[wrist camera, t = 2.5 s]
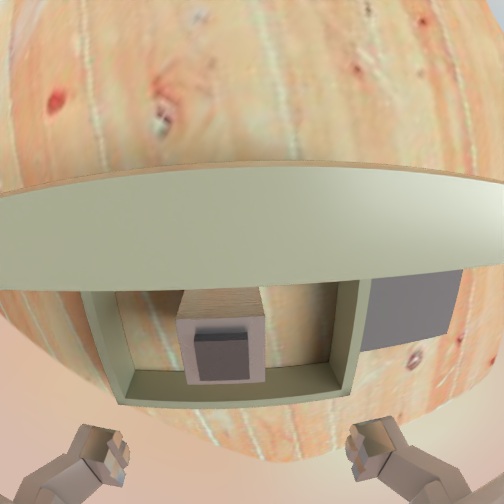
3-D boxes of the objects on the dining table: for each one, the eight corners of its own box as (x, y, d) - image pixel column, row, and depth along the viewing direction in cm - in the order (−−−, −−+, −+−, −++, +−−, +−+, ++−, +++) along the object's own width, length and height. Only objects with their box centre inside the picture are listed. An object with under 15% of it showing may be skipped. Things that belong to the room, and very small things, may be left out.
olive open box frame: (128, 376, 22) (73, 549, 6) (88, 175, 17) (-143, 248, 1) (336, 367, 23) (412, 539, 7) (354, 162, 18) (610, 211, 2)
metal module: (198, 318, 21) (186, 392, 13) (192, 265, 19) (173, 326, 12) (254, 315, 21) (266, 389, 14) (253, 262, 20) (266, 323, 12)
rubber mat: (353, 349, 22) (355, 352, 22) (369, 201, 19) (373, 202, 18) (443, 331, 23) (446, 333, 23) (468, 205, 19) (472, 206, 19)
